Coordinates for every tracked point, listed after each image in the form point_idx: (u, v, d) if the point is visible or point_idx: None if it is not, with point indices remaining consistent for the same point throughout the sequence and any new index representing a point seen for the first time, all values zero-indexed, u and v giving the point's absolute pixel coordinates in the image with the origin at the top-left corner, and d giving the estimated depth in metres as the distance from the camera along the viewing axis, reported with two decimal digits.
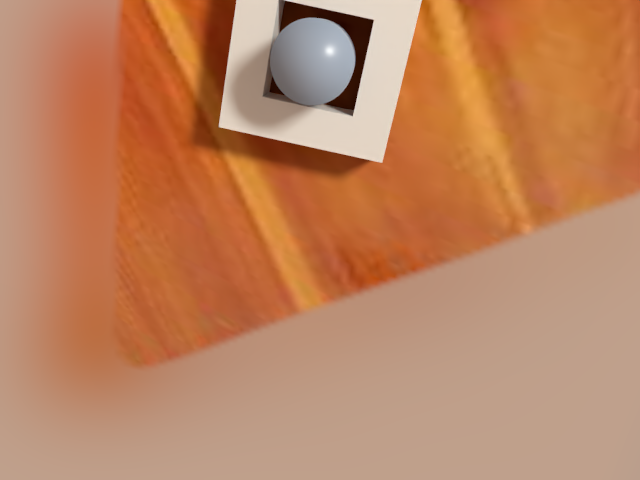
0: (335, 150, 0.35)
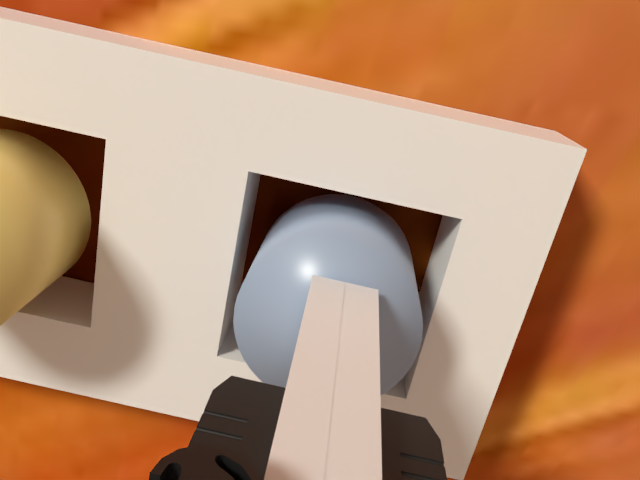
0: (540, 259, 0.15)
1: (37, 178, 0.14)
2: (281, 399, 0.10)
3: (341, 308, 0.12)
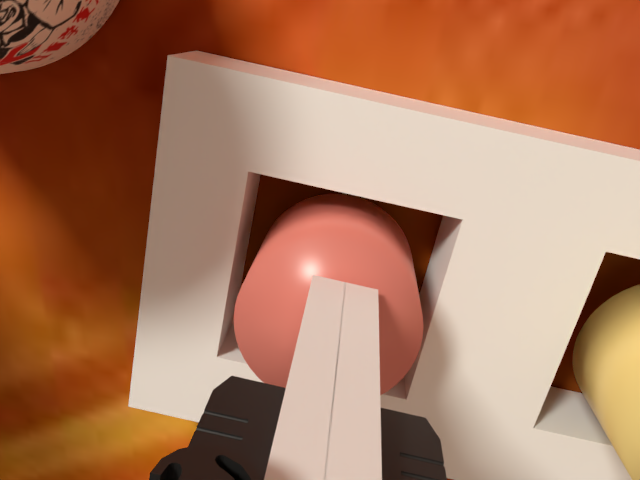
0: None
1: None
2: (281, 399, 0.10)
3: (341, 308, 0.12)
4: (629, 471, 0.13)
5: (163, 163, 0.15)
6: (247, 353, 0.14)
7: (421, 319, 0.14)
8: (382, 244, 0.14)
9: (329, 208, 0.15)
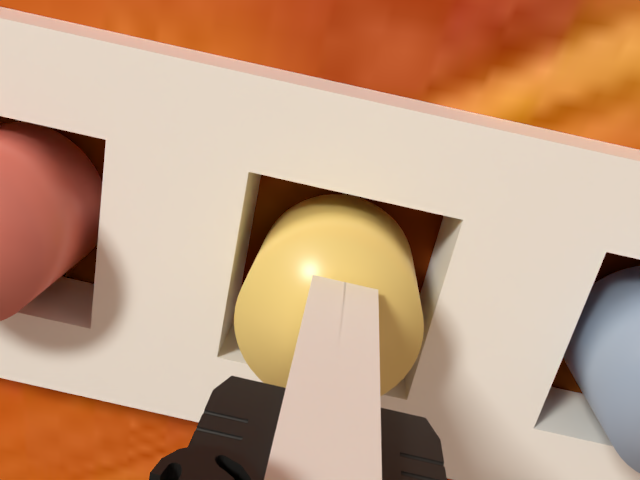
0: None
1: (403, 247, 0.15)
2: (281, 399, 0.10)
3: (341, 308, 0.12)
4: (245, 360, 0.14)
5: None
6: None
7: (36, 231, 0.14)
8: (4, 158, 0.14)
9: None
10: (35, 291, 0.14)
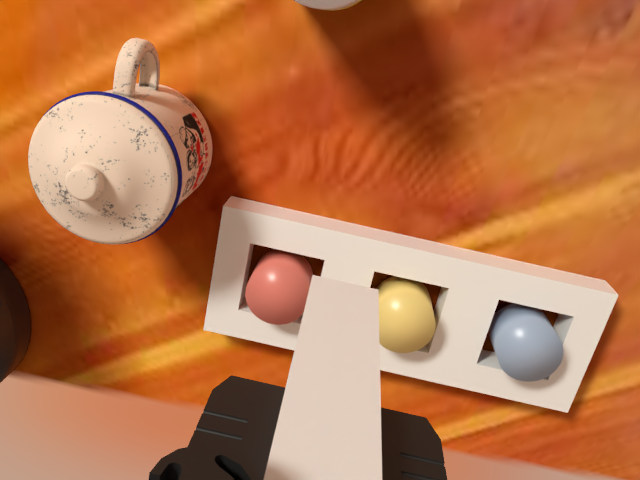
0: (601, 330, 0.42)
1: (427, 296, 0.43)
2: (281, 399, 0.10)
3: (341, 308, 0.12)
4: None
5: (220, 240, 0.42)
6: (249, 305, 0.42)
7: (307, 293, 0.41)
8: (294, 268, 0.41)
9: (279, 254, 0.43)
10: (302, 313, 0.42)
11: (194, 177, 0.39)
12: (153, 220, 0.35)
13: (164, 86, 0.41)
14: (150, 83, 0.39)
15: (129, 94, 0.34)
